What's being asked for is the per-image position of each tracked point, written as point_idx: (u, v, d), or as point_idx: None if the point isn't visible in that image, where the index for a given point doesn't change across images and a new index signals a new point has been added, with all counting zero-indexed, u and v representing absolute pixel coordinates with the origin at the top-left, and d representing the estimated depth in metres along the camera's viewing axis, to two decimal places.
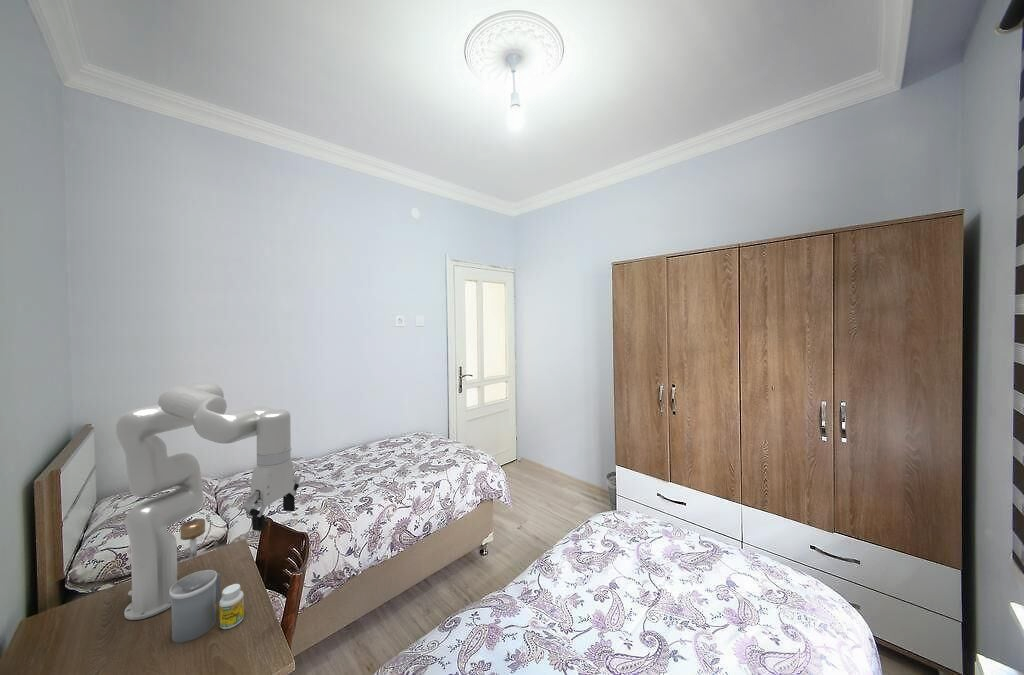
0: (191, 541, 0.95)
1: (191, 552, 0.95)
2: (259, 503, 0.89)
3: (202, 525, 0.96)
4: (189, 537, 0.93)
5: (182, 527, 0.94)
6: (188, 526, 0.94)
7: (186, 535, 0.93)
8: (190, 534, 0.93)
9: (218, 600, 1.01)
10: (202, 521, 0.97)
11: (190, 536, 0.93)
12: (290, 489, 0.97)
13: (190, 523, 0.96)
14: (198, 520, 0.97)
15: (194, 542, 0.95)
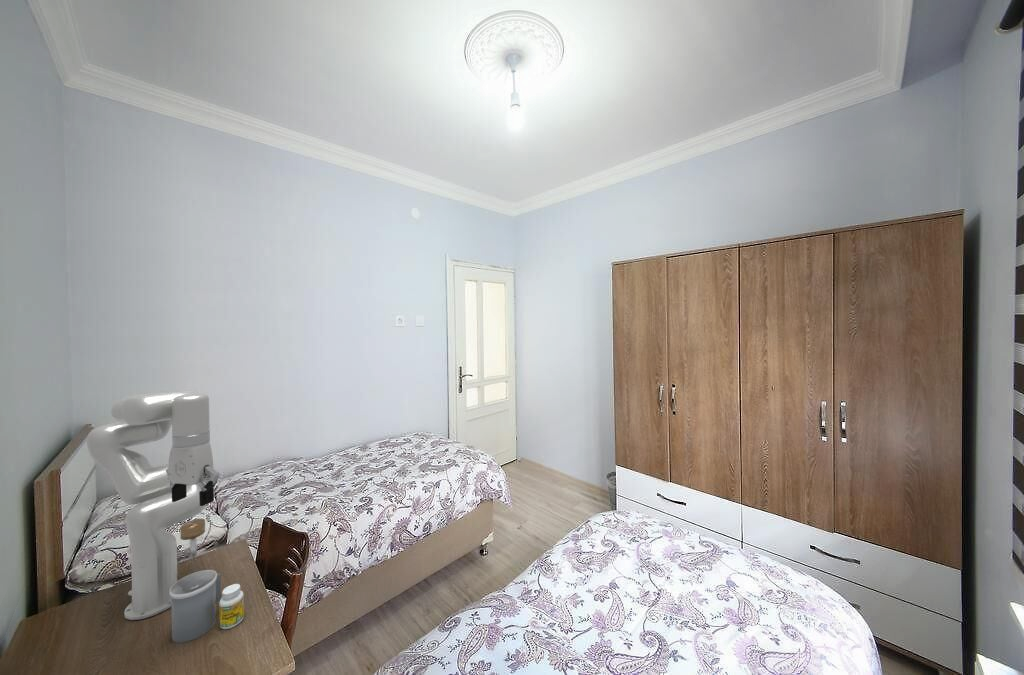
0: (191, 541, 0.95)
1: (191, 552, 0.95)
2: (205, 478, 0.94)
3: (202, 525, 0.96)
4: (189, 537, 0.93)
5: (182, 527, 0.94)
6: (188, 526, 0.94)
7: (186, 535, 0.93)
8: (190, 534, 0.93)
9: (218, 600, 1.01)
10: (202, 521, 0.97)
11: (190, 536, 0.93)
12: None
13: (190, 523, 0.96)
14: (198, 520, 0.97)
15: (194, 542, 0.95)
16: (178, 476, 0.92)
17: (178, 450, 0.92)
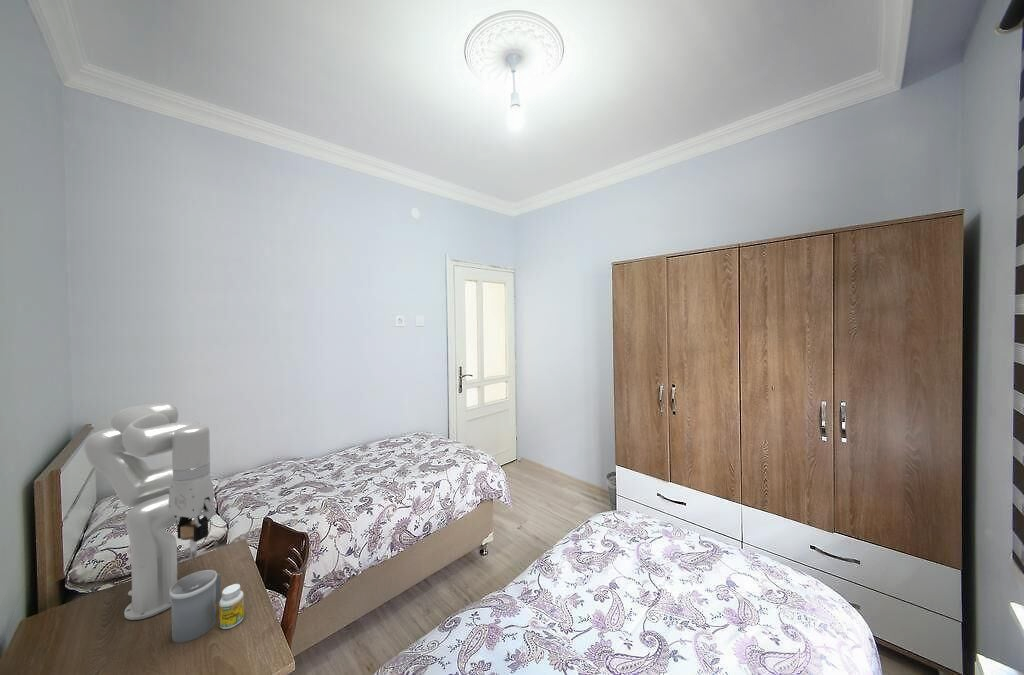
0: (191, 541, 0.95)
1: (191, 552, 0.95)
2: (202, 513, 0.95)
3: None
4: (189, 537, 0.93)
5: (182, 527, 0.94)
6: (188, 526, 0.94)
7: (186, 535, 0.93)
8: (190, 534, 0.93)
9: (218, 600, 1.01)
10: None
11: (190, 536, 0.93)
12: None
13: (190, 523, 0.96)
14: None
15: (194, 542, 0.95)
16: (179, 509, 0.93)
17: (178, 483, 0.93)
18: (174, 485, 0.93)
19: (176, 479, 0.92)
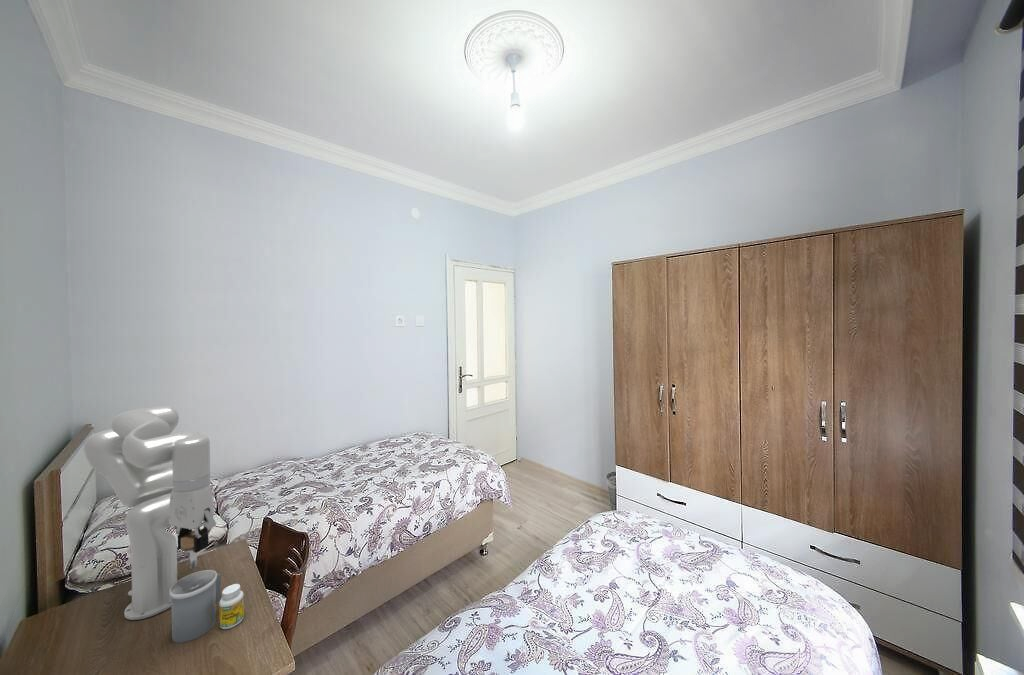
0: (191, 552, 0.95)
1: (192, 563, 0.95)
2: (202, 524, 0.95)
3: None
4: (189, 548, 0.93)
5: (182, 538, 0.94)
6: (188, 537, 0.94)
7: (186, 546, 0.93)
8: (190, 545, 0.93)
9: (218, 600, 1.01)
10: None
11: (190, 547, 0.93)
12: None
13: (190, 534, 0.96)
14: None
15: (194, 553, 0.95)
16: (179, 520, 0.93)
17: (179, 494, 0.93)
18: (174, 496, 0.93)
19: (176, 490, 0.92)
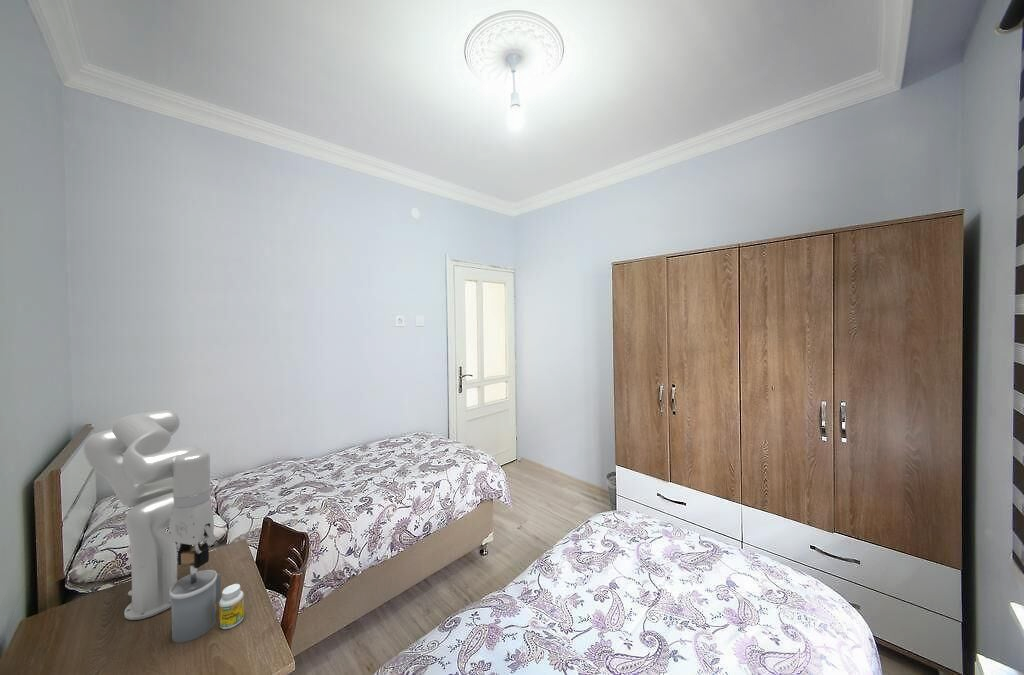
0: (191, 567, 0.95)
1: (192, 578, 0.95)
2: (202, 540, 0.95)
3: None
4: (190, 564, 0.93)
5: (183, 554, 0.94)
6: (189, 553, 0.94)
7: (187, 562, 0.93)
8: (191, 561, 0.94)
9: (218, 600, 1.01)
10: None
11: (191, 563, 0.94)
12: None
13: (190, 549, 0.96)
14: None
15: (194, 568, 0.96)
16: (179, 536, 0.93)
17: (179, 510, 0.93)
18: (175, 512, 0.93)
19: (177, 506, 0.92)
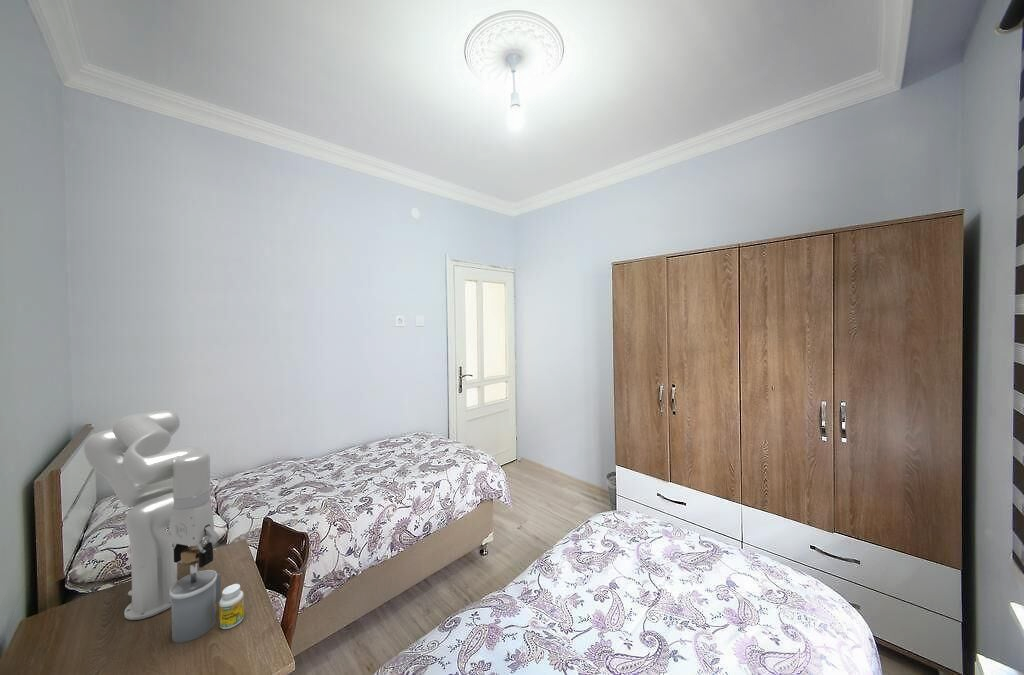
0: (191, 567, 0.95)
1: (192, 577, 0.95)
2: (205, 539, 0.95)
3: None
4: (189, 563, 0.93)
5: (183, 553, 0.94)
6: (188, 552, 0.94)
7: (187, 561, 0.93)
8: (190, 560, 0.94)
9: (218, 600, 1.01)
10: None
11: (190, 562, 0.94)
12: None
13: (190, 548, 0.96)
14: None
15: (194, 567, 0.96)
16: (179, 537, 0.93)
17: (179, 511, 0.93)
18: (175, 513, 0.93)
19: (177, 508, 0.92)
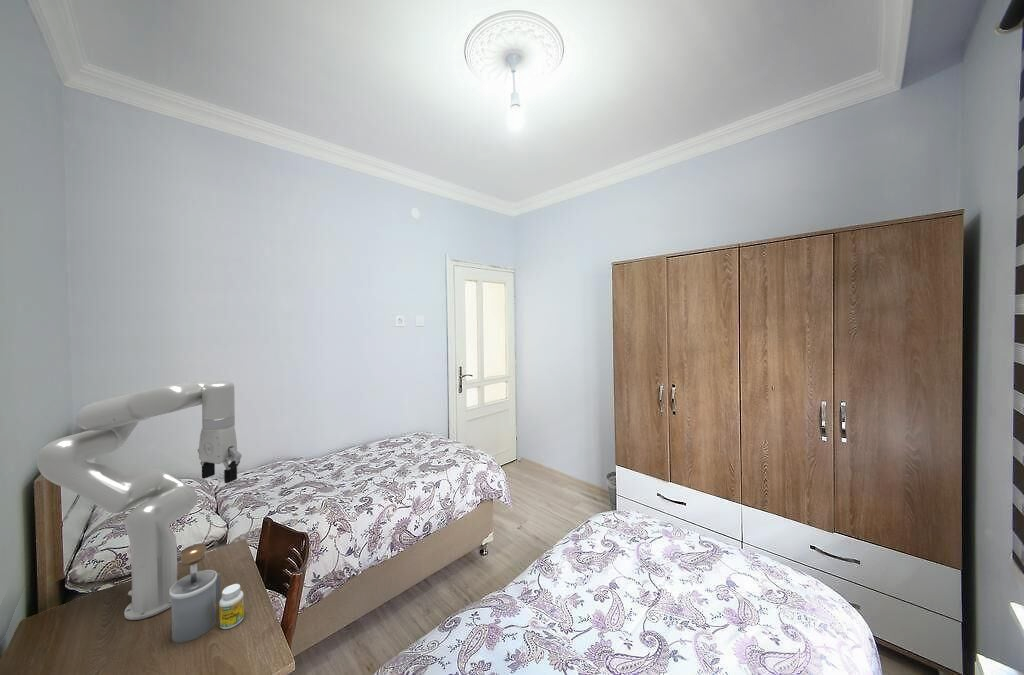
0: (191, 567, 0.95)
1: (192, 577, 0.95)
2: (229, 458, 1.04)
3: (202, 550, 0.96)
4: (189, 563, 0.93)
5: (183, 553, 0.94)
6: (188, 552, 0.94)
7: (187, 561, 0.93)
8: (190, 560, 0.94)
9: (218, 600, 1.01)
10: (202, 546, 0.97)
11: (190, 562, 0.94)
12: None
13: (190, 548, 0.96)
14: (198, 545, 0.97)
15: (194, 567, 0.96)
16: (207, 455, 1.03)
17: (207, 432, 1.03)
18: (203, 434, 1.03)
19: (205, 428, 1.01)
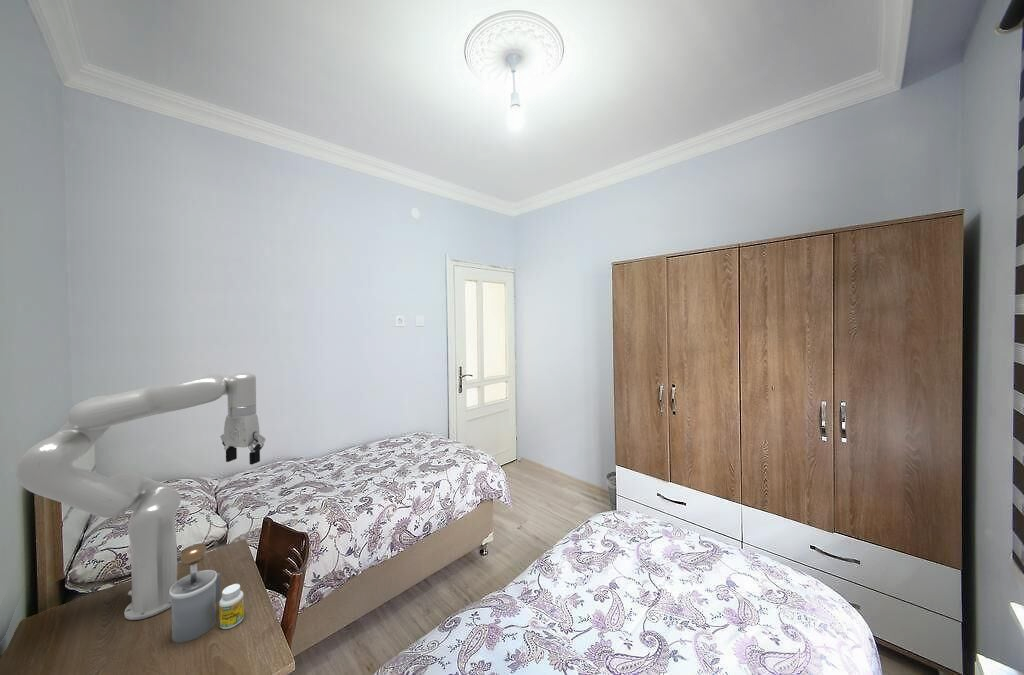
0: (191, 567, 0.95)
1: (192, 577, 0.95)
2: (253, 442, 1.15)
3: (202, 550, 0.96)
4: (189, 563, 0.93)
5: (183, 553, 0.94)
6: (188, 552, 0.94)
7: (187, 561, 0.93)
8: (190, 560, 0.94)
9: (218, 600, 1.01)
10: (202, 546, 0.97)
11: (190, 562, 0.94)
12: None
13: (190, 548, 0.96)
14: (198, 545, 0.97)
15: (194, 567, 0.96)
16: (232, 440, 1.13)
17: (232, 419, 1.13)
18: (228, 421, 1.14)
19: (231, 415, 1.12)
